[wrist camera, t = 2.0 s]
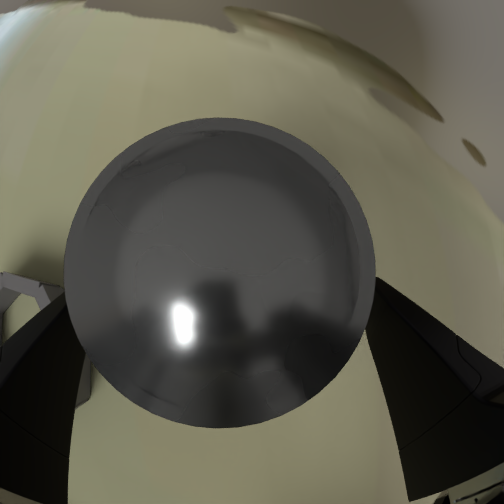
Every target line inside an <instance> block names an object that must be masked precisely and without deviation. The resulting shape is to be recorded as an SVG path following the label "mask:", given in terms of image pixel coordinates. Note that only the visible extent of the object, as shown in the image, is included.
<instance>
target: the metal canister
mask: <svg viewBox="0 0 504 504" xmlns="http://www.w3.org/2000/svg"><path fill="white" fill-rule="evenodd" d="M64 287H65V296H66V302H67V307H68V311H69V315H70V319H71V322H72V324H73V327H74V330H75V332H76V335H77V337H78V339H79V341H80V343H81V345H82V347H83V349H84V350H85V352H86V354H87V356H88V357H89V359H90V360H91V362H92V363H93V364H94V366H95V367H96V368H97V370H98V371H99V372H100V373H101V375H102V376H103V377H104V378H105V379H106V380H107V381H108V382H109V383H110V384H111V385H112V386H113V387H114V388H115V389H116V390H117V391H119V392H120V393H121V394H123V395H124V396H125V397H127V398H128V399H129V400H131V401H132V402H133V403H135V404H137V405H138V406H140V407H142V408H144V409H145V410H147V411H149V412H151V413H153V414H155V415H158V416H160V417H163V418H165V419H168V420H171V421H174V422H178V423H182V424H186V425H190V426H196V427H206V428H234V427H242V426H248V425H253V424H258V423H262V422H265V421H267V420H270V419H273V418H276V417H279V416H281V415H283V414H285V413H287V412H289V411H291V410H293V409H295V408H297V407H299V406H301V405H302V404H304V403H305V402H307V401H308V400H309V399H311V398H312V397H314V396H315V395H316V394H318V393H319V392H320V391H321V390H322V389H323V388H324V387H325V386H327V385H328V384H329V383H330V382H331V381H332V380H333V379H334V378H335V377H336V375H337V374H338V373H339V372H340V371H341V369H342V368H343V367H344V365H345V364H346V363H347V362H348V360H349V359H350V357H351V355H352V354H353V352H354V350H355V349H356V347H357V345H358V343H359V342H360V339H361V337H362V334H363V332H364V330H365V327H366V325H367V322H368V319H369V315H370V311H371V307H372V303H373V297H374V289H375V255H374V248H373V242H372V237H371V234H370V230H369V227H368V223H367V220H366V218H365V215H364V213H363V211H362V208H361V206H360V204H359V202H358V200H357V198H356V197H355V195H354V193H353V192H352V190H351V188H350V187H349V185H348V184H347V182H346V181H345V180H344V179H343V177H342V176H341V175H340V173H339V172H338V171H337V170H336V169H335V168H334V167H333V166H332V165H331V164H330V163H329V162H328V161H327V160H326V159H325V158H324V157H323V156H322V155H321V154H319V153H318V152H317V151H316V150H314V149H313V148H312V147H310V146H309V145H308V144H306V143H304V142H303V141H301V140H299V139H298V138H296V137H294V136H293V135H291V134H288V133H286V132H284V131H282V130H279V129H277V128H275V127H272V126H268V125H265V124H262V123H258V122H254V121H249V120H243V119H237V118H205V119H196V120H191V121H186V122H181V123H178V124H175V125H171V126H168V127H165V128H163V129H160V130H158V131H156V132H154V133H152V134H149V135H147V136H145V137H144V138H142V139H140V140H139V141H137V142H136V143H134V144H132V145H131V146H129V147H128V148H127V149H125V150H124V151H123V152H122V153H120V154H119V155H118V156H117V157H115V158H114V159H113V160H112V161H111V162H110V163H109V164H108V165H107V166H106V167H105V169H104V170H103V171H102V172H101V173H100V174H99V176H98V177H97V178H96V179H95V181H94V182H93V183H92V185H91V186H90V188H89V189H88V191H87V193H86V194H85V196H84V198H83V199H82V201H81V203H80V205H79V207H78V210H77V212H76V214H75V217H74V219H73V222H72V225H71V228H70V232H69V235H68V239H67V244H66V251H65V258H64Z"/></svg>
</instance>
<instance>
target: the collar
mask: <svg viewBox="0 0 504 504" xmlns="http://www.w3.org/2000/svg"><path fill="white" fill-rule="evenodd" d="M63 292H64V289H63V288H60V286H59V285H55V284H51V283H47V282H43V281H40V280H36V279H32V278H29V277H25V276H21V275H16V274H12V273H8V272H3V273H0V346H2V318H3V313H4V312H5V311H6V310H7V308H8V307H9V306H10V305H11V304H12V303H13V302H14V300H15V299H16V298H17V297H18V296H19V295H20V294H21V293H23V294H26V295H29V296H32V297H35V299H36V301H37V303H38V305H39V308H40V310H42V309H43V308H45V307H46V306H47V305H48V304H49V303H51V302H52V301H53V300H54V299H56V298H57V297H58V296H59V295H61V294H62V293H63ZM90 372H91V360H90V359H89V357H88V356H87V354H86V356H85V360H84V365H83V369H82V374H81V379H80V384H79V389H78V395H77V400H76V406H75V409H77V408H78V407H80V406H81V405H82V404H84V403H85V402H87V401H88V398H89V397H90Z"/></svg>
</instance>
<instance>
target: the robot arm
mask: <svg viewBox="0 0 504 504" xmlns="http://www.w3.org/2000/svg"><path fill="white" fill-rule="evenodd" d="M365 330H366V335H367V339H368V343H369V346H370V350H371V353H372V356H373V359H374V362H375V365H376V368H377V372H378V375H379V378H380V382H381V385H382V388H383V392H384V395H385V399H386V402H387V406H388V410H389V413H390V417H391V421H392V425H393V429H394V433H395V437H396V441H397V445H398V450H399V455H400V459H401V464H402V469H403V474H404V479H405V484H406V490H407V495H408V500H409V502H411V501H414V500H418V499H421V498H424V497H427V496H430V495H433V494H436V493H439V492H441V491H444V490H447V492H448V493H447V494H445V495H443V496H441V497H439V498H438V499H436V501H435V503H434V504H504V368H502V367H501V366H499V365H498V364H497V363H495V362H494V361H492V360H491V359H489V358H488V357H486V356H485V355H484V354H482V353H481V352H479V351H478V350H476V349H475V348H474V347H472V346H471V345H470V344H468V343H467V342H466V341H464V340H463V339H462V338H461V337H459V336H458V335H456V334H455V333H454V332H453V331H452V330H450V329H449V328H448V327H446V326H445V325H444V324H442V323H441V322H440V321H438V320H437V319H436V318H434V317H433V316H432V315H430V314H429V313H428V312H426V311H425V310H424V309H422V308H421V307H420V306H418V305H417V304H415V303H414V302H413V301H411V300H410V299H409V298H407V297H406V296H404V295H403V294H402V293H400V292H399V291H397V290H396V289H395V288H393V287H392V286H390V285H389V284H387V283H386V282H385V281H383V280H382V279H380V278H379V277H375V289H374V297H373V303H372V307H371V311H370V315H369V319H368V322H367V325H366V327H365ZM85 356H86V352H85V350H84V349H83V347H82V345H81V343H80V341H79V339H78V337H77V335H76V332H75V330H74V327H73V324H72V322H71V319H70V315H69V311H68V307H67V302H66V296H65V291H64V292H63V293H62V294H61V295H59V296H58V297H57V298H56V299H54V300H53V301H52V302H51V303H49V304H48V305H47V306H46V307H45V308H43V309H42V310H41V311H40V312H39V313H37V314H36V315H35V316H34V317H33V318H32V319H30V320H29V321H28V322H27V323H26V324H25V325H24V326H22V327H21V328H20V329H19V330H18V331H17V332H16V333H15V334H13V335H12V336H11V337H10V338H9V339H8V340H7V341H6V342H5V343H4V344H3V346H0V504H41V503H42V504H68V472H69V455H70V444H71V435H72V427H73V420H74V413H75V406H76V400H77V395H78V389H79V384H80V379H81V374H82V369H83V365H84V360H85Z"/></svg>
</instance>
